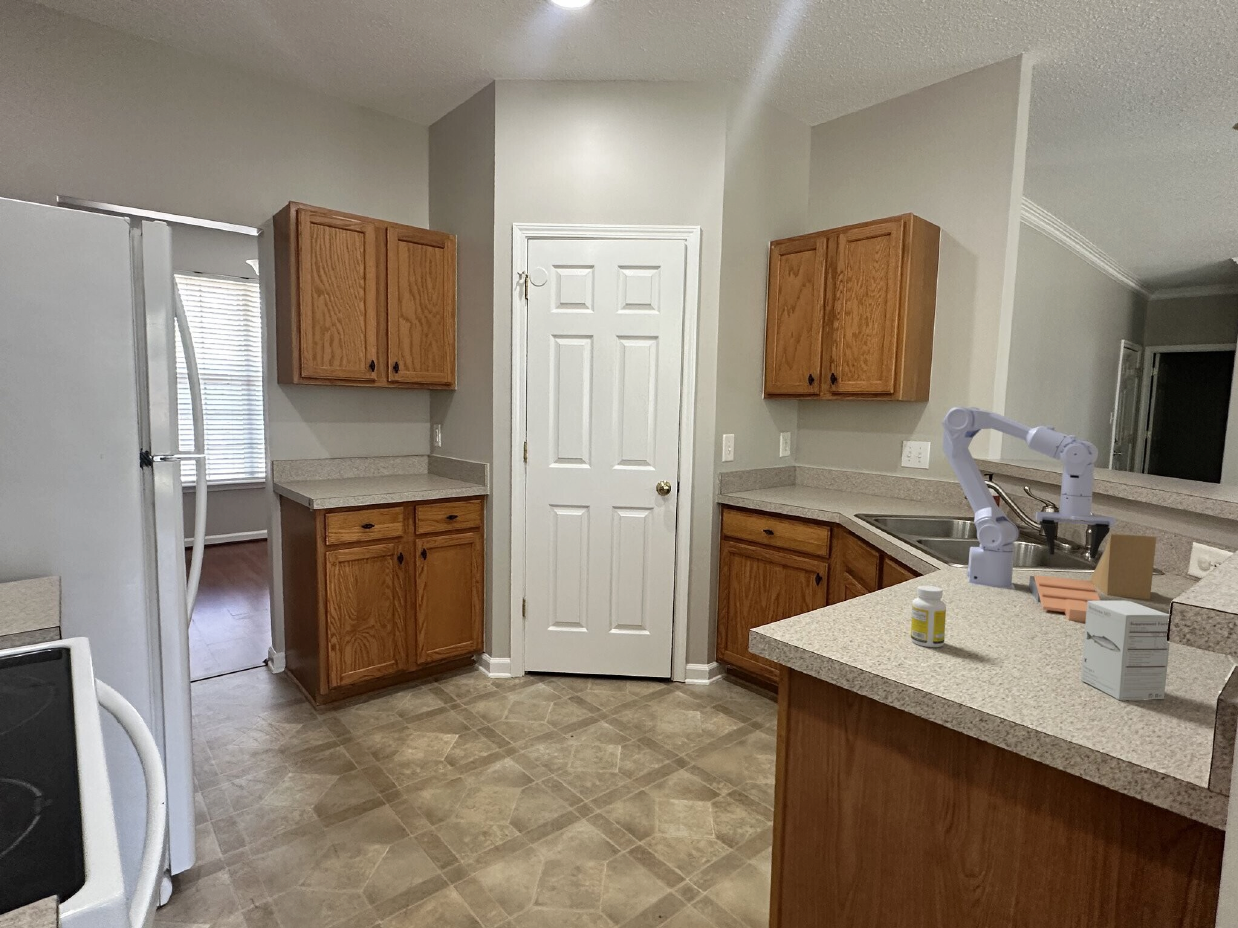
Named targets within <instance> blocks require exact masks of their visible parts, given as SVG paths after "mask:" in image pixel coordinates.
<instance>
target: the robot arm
mask: <svg viewBox="0 0 1238 928" xmlns="http://www.w3.org/2000/svg"><path fill="white" fill-rule="evenodd" d="M941 425H942V427H943V435H942V450H943V452H944V454H945V457H946V459H947V460H948V462H949V464H950V466H951V469H952V471H953V472H954V475H955V477H956V479H957V481H958V482H959V485H960V487H961V488H962V490H963V493H964V495H965V496H966V499H967V501H968V503H969V505H970V507H971V509H972V511H973V513H974V520H973V523H974V525H975V527H976V537H977V540H978V542H979V546H970V547H969V554H968V555H969V556H968V568H967V571H966V577H967V580H968V583H969V585H978V586H985V587H986V586H987V587H993V588H994V587H995V588H1003V589H1012V590H1013V589H1014V590H1016V587H1015V585H1014V584H1013V571H1014V570H1013V569H1014V556H1015V547H1014V545H1013V543H1015V542H1016V541H1017V539H1018V537H1019V530H1018V529H1019V528H1018V527H1017V525H1016V524H1015V523H1014V522H1013V521H1012V520H1010V519H1009V518H1008V516H1007V515H1006V513H1005V512H1004V511H1003V509H1002V508H1000V507H999V506H998V505H997V503H996V502H997V501H996V500H995V499H994V496H993V495H992V492H991V491H990V489H989V487H988V485H987V483H986V481H985V478H984V476H983V475H982V474H981V471H980V469H979V467H978V465H977V463H976V461H975V459H974V457H973V455H972V453H971V451H970V450H969V447H970V446H971V443H972V441H973V439H974V437H976V435H977V434H978V433H979V432H980V431H982V430H991V429H992V430H994V431H997V432H1001V433H1003V434H1006V435H1009V436H1011V437H1015V438H1018V439H1020V440H1023V441H1025V442H1026V444H1027V446H1028V448H1029V449H1030V450H1032V451H1036V452H1038V453H1041V454H1042V455H1046V456H1048V457H1049V458H1053V459H1056V460H1058V461H1059V460H1061V461H1062V463H1063V468H1062V475H1061V477H1062V478H1061V488H1060V489H1061V490H1060V498H1059V499H1060V500H1059V501H1060V502H1059V511H1058V512H1057V511H1056V512H1054V511H1053V512H1052V511H1035V518H1034V519H1035V521H1036V522H1039V524H1040V525H1041V528H1042V530H1043V533H1044V536H1045V539H1046V542H1047V548H1048V554H1049V555H1051V556H1052V555H1055V540H1056V539H1055V538H1056V531H1057V525H1056V523H1062V524H1063V523H1066V524H1075V525H1076V524H1078V525H1091V526H1090V531H1091V533H1090V536H1091V537H1090V546H1089V555H1088V556H1089V558H1091V559H1094V560H1095V559H1096V558H1097V557H1096V556H1097V553H1098V551H1099V548H1100V546H1101V544H1102V542H1103V541H1104V539H1106V537H1107V536H1108V534H1109V533H1110V531H1111V528H1115V527H1116V518H1115V517H1114V516H1105V515H1096V514H1095V515H1094V514H1091V513H1092V503H1093V502H1092V500H1093V489H1094V477H1095V475H1094V471H1095V464H1094V463H1095V462H1096V461H1097V459H1098V456H1099V449H1098V448H1097V446H1096V445H1095V444H1093V443H1091V442H1090V441H1089V440H1086V439H1080V440H1077V438H1078V437H1077V435H1075V434H1071V435H1068V434H1065V433H1063V432H1060V431H1058V430H1055V427H1054V426H1052V425H1046V426H1044V425H1039V426H1036V427H1034V428H1032V427H1030V426H1027V425H1026V424H1023V423H1021V422H1018V421H1016V420H1014V419H1012V418H1010V417H1007V416H1004V415H1002V414H999V413H997V412H994V411H989V410H986V409H980V408H978V407H975V406H973V407H972V406H970V407H965V406H961V405H960V406H954V407H952V408H951V409H949V410H948V411H947V413H946V415H945V416H944V418H943V420H942V422H941ZM1110 527H1111V528H1110Z"/></svg>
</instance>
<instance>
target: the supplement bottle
mask: <svg viewBox="0 0 1238 928" xmlns="http://www.w3.org/2000/svg"><path fill="white" fill-rule="evenodd" d="M916 595H917V598H914V599H913V601H912V604H911V623H910V626H911V627H910V640H911V642H912V643H913V644H915V645H918V646H922V647H925V648H926V647H927V648H941V647H943V646H944V645H945V638H946V637H945V635H946V634H945V631H946V614H947V613H946V612H947V605H946V604H945V602H944V601H943V600H941V599H942V598H943V589H942V588H940V587H938V586H934V585H918V587H917V589H916Z"/></svg>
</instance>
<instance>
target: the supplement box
mask: <svg viewBox="0 0 1238 928" xmlns="http://www.w3.org/2000/svg"><path fill="white" fill-rule="evenodd" d="M1169 615H1170V614H1169V613H1166V612H1163V611H1160V610H1157V609H1153V608H1151V607H1148V606H1144V605H1143V604H1140V603H1136V602H1134V601H1130V600H1100V601H1087V612H1086V622H1084V623H1085V624H1084V625H1085V626H1084V636H1083V647H1082V656H1081V657H1082V658H1081V670H1080V681H1081V682H1084V683H1086V684H1089V686H1092V687H1094V688H1095V689H1098V690H1100V691H1102V692H1103V693H1106V694H1107V695H1109V696H1111V697H1113V698H1114V699H1116V700H1118V701H1126V700H1129V701H1144V700H1143V699H1164V700H1165V693H1166V684H1167V676H1168V675H1167V673H1168V666H1169V665H1168V664H1169V663H1168V662H1169V654H1170V644H1171V642H1170V643H1168V642H1167V629H1168V619H1169ZM1141 699H1142V700H1141Z"/></svg>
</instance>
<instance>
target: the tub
mask: <svg viewBox="0 0 1238 928" xmlns="http://www.w3.org/2000/svg"><path fill="white" fill-rule="evenodd" d="M1034 577H1035V575H1034V576H1033V575H1029V582H1028V590H1029V591H1030V592H1031V594H1032V595H1033V597H1034V598H1035V600H1036V601H1037V603H1041V600H1040V597H1039V593H1038V589H1037V586H1036V582H1035V578H1034Z"/></svg>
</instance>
